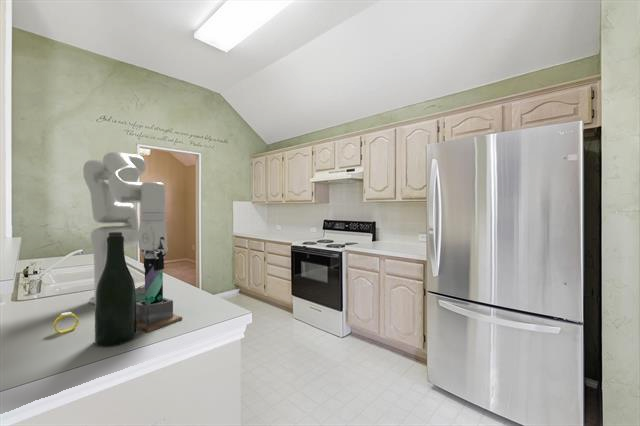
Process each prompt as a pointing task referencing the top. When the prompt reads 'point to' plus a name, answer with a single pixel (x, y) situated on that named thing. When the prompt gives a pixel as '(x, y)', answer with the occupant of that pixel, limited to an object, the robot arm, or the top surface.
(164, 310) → the can holder
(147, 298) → the spray can
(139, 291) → the food container
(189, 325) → the top surface
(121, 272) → the beer bottle
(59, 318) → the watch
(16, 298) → the top surface
